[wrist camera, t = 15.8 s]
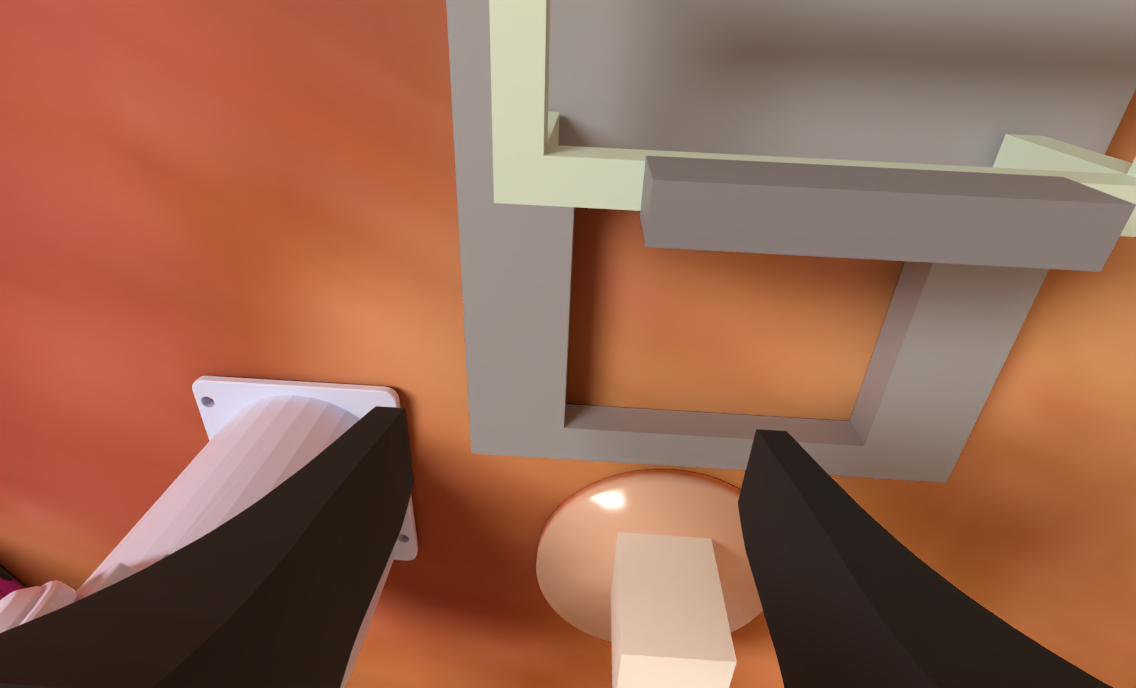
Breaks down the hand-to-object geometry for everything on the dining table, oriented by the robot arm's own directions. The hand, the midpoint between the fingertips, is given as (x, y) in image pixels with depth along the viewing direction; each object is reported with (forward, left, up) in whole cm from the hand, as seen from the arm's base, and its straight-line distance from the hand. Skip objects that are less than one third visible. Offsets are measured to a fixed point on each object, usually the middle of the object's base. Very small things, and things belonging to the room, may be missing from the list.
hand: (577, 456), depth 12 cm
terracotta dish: (-14, -4, -9) cm, 17 cm away
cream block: (-14, -4, -9) cm, 16 cm away
